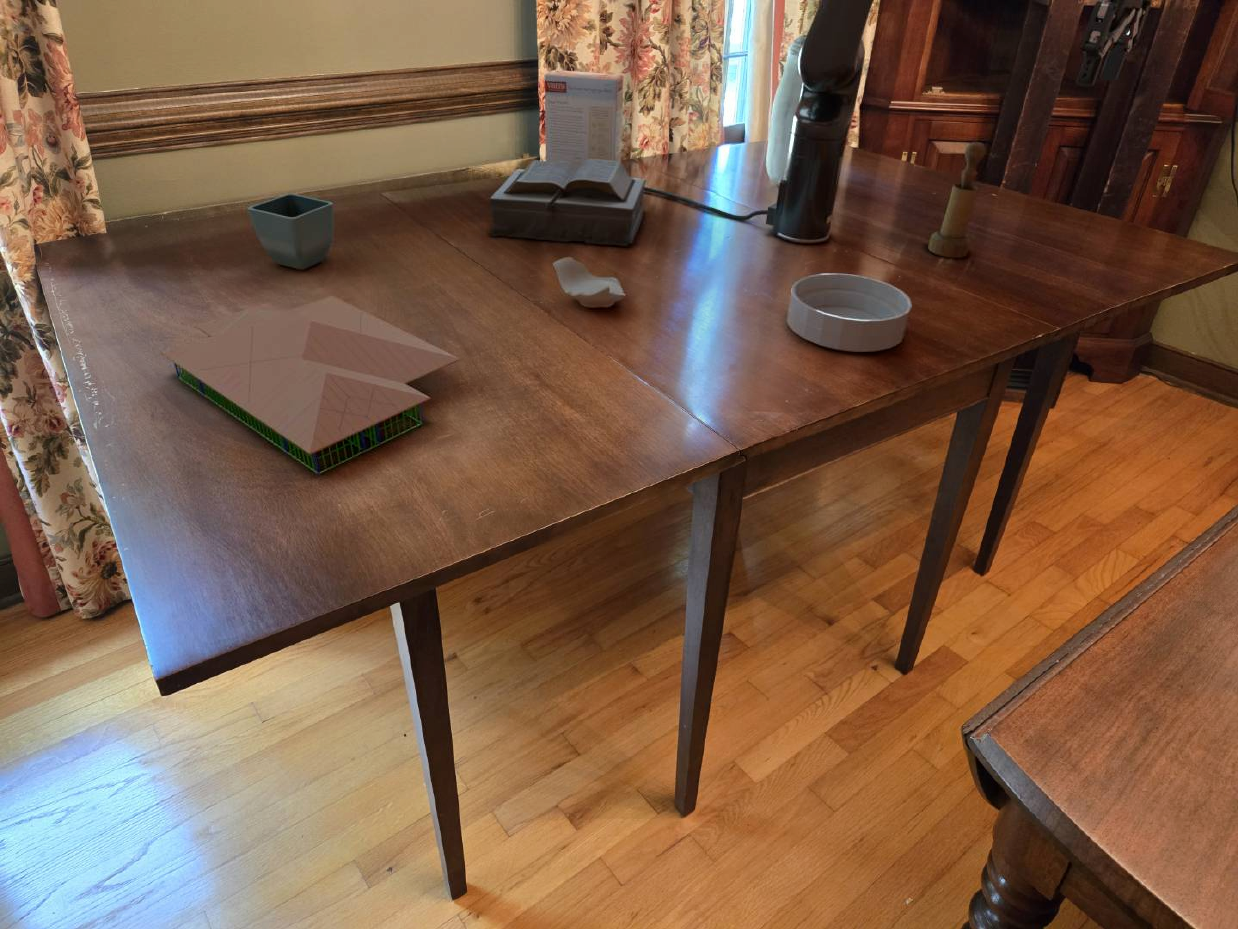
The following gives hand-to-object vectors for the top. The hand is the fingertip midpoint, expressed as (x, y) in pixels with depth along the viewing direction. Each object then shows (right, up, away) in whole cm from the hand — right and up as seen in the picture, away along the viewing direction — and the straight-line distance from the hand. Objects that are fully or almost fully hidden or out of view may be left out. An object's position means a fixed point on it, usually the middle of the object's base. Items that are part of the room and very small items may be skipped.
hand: (1096, 82), depth 117 cm
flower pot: (-117, -23, +10) cm, 120 cm away
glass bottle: (-33, +3, +54) cm, 63 cm away
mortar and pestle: (-11, -18, +25) cm, 33 cm away
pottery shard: (-72, -31, +2) cm, 78 cm away
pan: (-37, -35, -2) cm, 51 cm away
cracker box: (-75, +1, +47) cm, 89 cm away
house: (-103, -45, -20) cm, 114 cm away
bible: (-77, -12, +29) cm, 83 cm away
